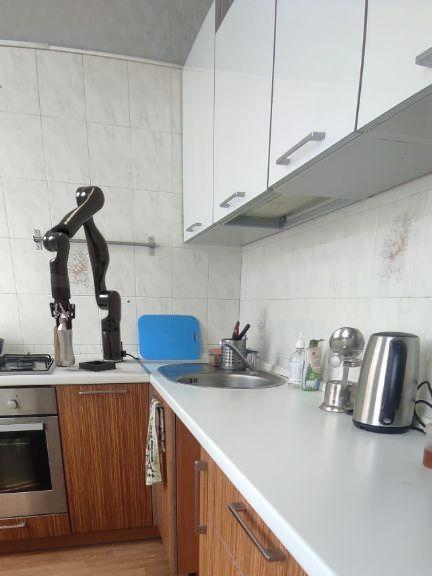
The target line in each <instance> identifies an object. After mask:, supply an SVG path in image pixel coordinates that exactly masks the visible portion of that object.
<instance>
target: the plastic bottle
mask: <svg viewBox="0 0 432 576" xmlns="http://www.w3.org/2000/svg"><path fill="white" fill-rule="evenodd" d="M59 323H60V325H59V327H58V329H57V333H58V338H59V343H60V362H61V364H62V365H64V366H63V367H71V366H74V365H75V364H76V356H75V353H74V347H73V328H72V329H70V330H68V329H67V324H66V317H61V318H59Z"/></svg>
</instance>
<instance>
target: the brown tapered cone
mask: <svg viewBox="0 0 432 576" xmlns="http://www.w3.org/2000/svg"><path fill="white" fill-rule="evenodd" d="M57 329H58V328H57V327H56V325H55V326H54V327H53V348H54V352H53V353H54V364H55V365H56V366H57V367H59V366H60V367H65V366H64V365H62V364H61V362H60V343H59V338H58V333H57Z"/></svg>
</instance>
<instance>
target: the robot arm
mask: <svg viewBox="0 0 432 576" xmlns="http://www.w3.org/2000/svg"><path fill="white" fill-rule="evenodd" d="M105 201H106V197H105V193H104V191H103V189H102V188H101V187H100V186H97V185H86V186H78V187H77V188H76V190H75V202H76V205H77V207H75V208H73V209H72V210H70V211H68V212H67V213H66V214H65V215H64V216H63V217H62V219H61V220H60V221H59V223H57V224H56V225H54V226H52V227H51V228H50V229H48V230H47V231H46V232H45V233H44V234H43V238H42V245H43V248H44V249H45V250H46V251H48V252H51V253H56V255H55V257H53V258H50V259H49V263H48V264H49V274H50V277H49V280H50V290H51V298H52V299H53V301H52V302H49V304H48V305H49V310H50V316H51V318H54V319H55V326H56V327H57V328H58V327H59V325H60V323H59V318H62V315H63V316H64V318H66V324H67V329H68V330H70V329H72V330H73V320H74V319H75V320H76V304H75V303H71V302H70V300H71V299H72V298H71V297H72V296H71V295H72V294H71V285H70V283H71V281H70V278H69V269H68V263H69V256H70V250H71V242H70V240H71V239H73V238H74V237H75V236H76V234H77V233H78V232H79V230H80V229H81V227H82V228H83V232H84V236H85V242H86V248H87V253H88V258H89V262H90V267H91V273H92V279H93V289H94V298H95V303H96V304H97V307H98V309H99V310H100V311H107V315H106V316H104V317H102V318H101V320H100V330H101V331H100V332H101V333H100V334H101V353H102V361H106V362H113V363H120V362H124V358H127V356H128V357H131V358H132V359H134V360H140V357H135V356H134V355H133V354H130V353H127V350H124V348H123V341H122V335H121V334H122V333H121V321H122V297H121V293H119V292H118V290H114V289H108V288H107V283H106V275H107V272H108V269H109V266H110V262H111V261H110V260H111V257H110V249H109V245H108V242H107V241H106V237H104V235H103V233H102V232H101V231H100V229H99V228H98V227H97V225H96V222H95V218H94V216H95V215H96V214H97V213H99V212H100V211H101V210H102V209H103V208H104V205H105V203H106V202H105Z"/></svg>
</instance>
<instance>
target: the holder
mask: <svg viewBox="0 0 432 576" xmlns="http://www.w3.org/2000/svg"><path fill="white" fill-rule="evenodd" d="M78 369H80V370H84V371H91V372H102V371H109V370H115V369H117V362H106V361H103V360H100V359H97V360H96V359H95V360H89V361H81V362H78Z"/></svg>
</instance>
